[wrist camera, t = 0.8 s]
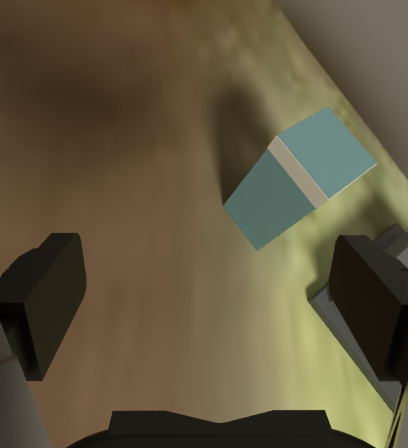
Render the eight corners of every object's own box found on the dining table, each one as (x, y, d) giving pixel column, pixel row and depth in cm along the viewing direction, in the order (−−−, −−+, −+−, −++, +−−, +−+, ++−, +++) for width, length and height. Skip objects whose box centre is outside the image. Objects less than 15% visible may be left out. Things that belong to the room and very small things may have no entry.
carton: (222, 205, 32) (277, 134, 22) (261, 180, 34) (328, 105, 24) (256, 251, 31) (330, 199, 21) (295, 223, 33) (377, 163, 23)
